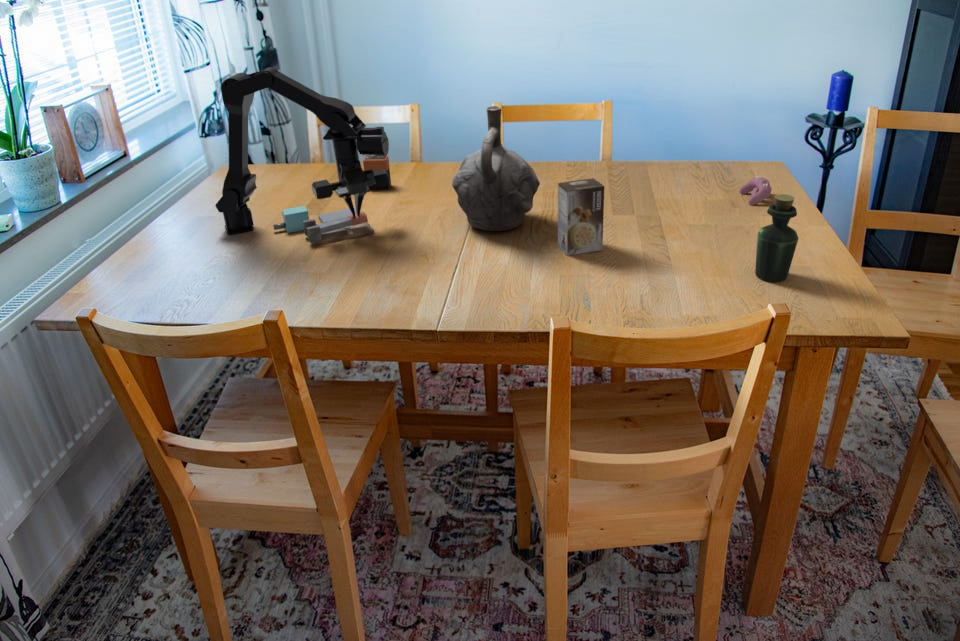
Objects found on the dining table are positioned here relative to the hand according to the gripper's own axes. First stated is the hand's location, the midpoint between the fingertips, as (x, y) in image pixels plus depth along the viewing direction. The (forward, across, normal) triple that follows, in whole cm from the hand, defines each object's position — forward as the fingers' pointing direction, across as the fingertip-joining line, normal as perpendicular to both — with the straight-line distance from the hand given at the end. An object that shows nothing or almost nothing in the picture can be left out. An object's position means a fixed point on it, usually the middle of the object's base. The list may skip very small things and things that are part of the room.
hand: (356, 215), depth 191 cm
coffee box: (+6, +44, -36) cm, 57 cm away
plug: (+4, -15, +10) cm, 19 cm away
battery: (+5, +14, +29) cm, 33 cm away
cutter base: (+4, -5, 0) cm, 6 cm away
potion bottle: (+7, +73, -68) cm, 100 cm away
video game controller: (+8, +101, -31) cm, 106 cm away
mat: (+4, -2, +9) cm, 10 cm away
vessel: (+6, +32, -13) cm, 35 cm away
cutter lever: (+2, -5, 0) cm, 5 cm away
